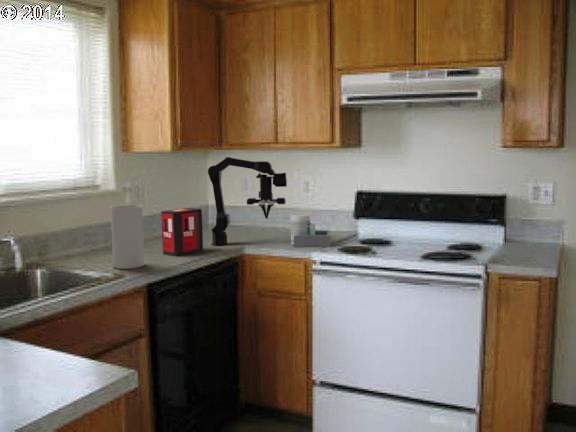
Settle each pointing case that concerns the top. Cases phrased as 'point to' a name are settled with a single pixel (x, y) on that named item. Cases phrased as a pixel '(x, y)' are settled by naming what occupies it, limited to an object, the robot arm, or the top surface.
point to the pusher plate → (312, 229)
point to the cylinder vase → (127, 236)
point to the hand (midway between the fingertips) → (266, 218)
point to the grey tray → (313, 239)
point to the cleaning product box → (182, 231)
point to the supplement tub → (299, 225)
